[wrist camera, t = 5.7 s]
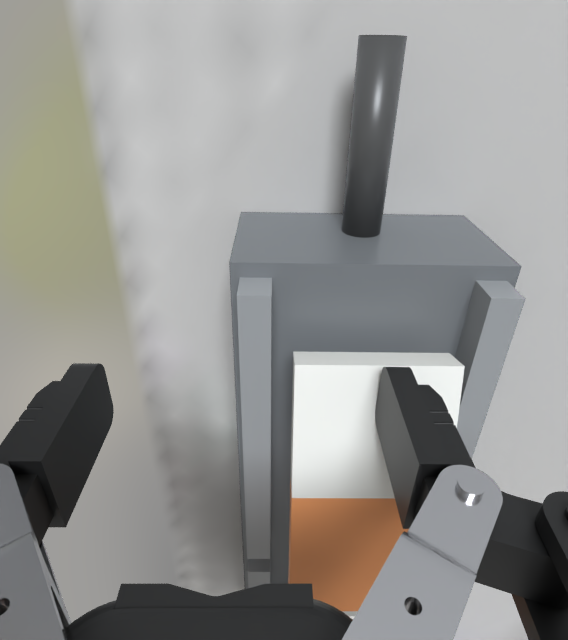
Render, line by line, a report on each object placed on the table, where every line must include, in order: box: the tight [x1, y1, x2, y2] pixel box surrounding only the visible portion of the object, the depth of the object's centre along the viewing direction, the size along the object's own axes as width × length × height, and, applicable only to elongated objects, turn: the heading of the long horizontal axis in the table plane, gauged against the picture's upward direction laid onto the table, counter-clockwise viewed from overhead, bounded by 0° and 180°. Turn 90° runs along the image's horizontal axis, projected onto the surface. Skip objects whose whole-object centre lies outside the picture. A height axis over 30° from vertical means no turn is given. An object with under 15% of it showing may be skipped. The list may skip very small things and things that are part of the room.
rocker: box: [288, 352, 465, 611], centre depth 15 cm, size 9×5×1 cm, turn 179°
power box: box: [229, 35, 525, 589], centre depth 21 cm, size 34×9×6 cm, turn 179°
